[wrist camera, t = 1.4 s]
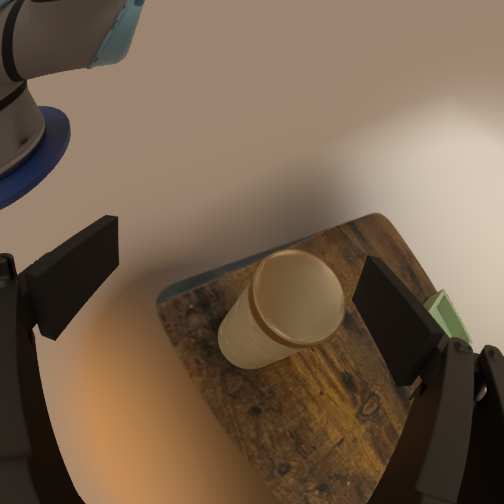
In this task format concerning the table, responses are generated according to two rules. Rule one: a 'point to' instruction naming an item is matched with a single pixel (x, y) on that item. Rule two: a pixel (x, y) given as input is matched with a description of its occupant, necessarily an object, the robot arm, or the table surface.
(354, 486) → the table surface
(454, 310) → the bin
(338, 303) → the tea tin
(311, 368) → the table surface
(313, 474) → the table surface
